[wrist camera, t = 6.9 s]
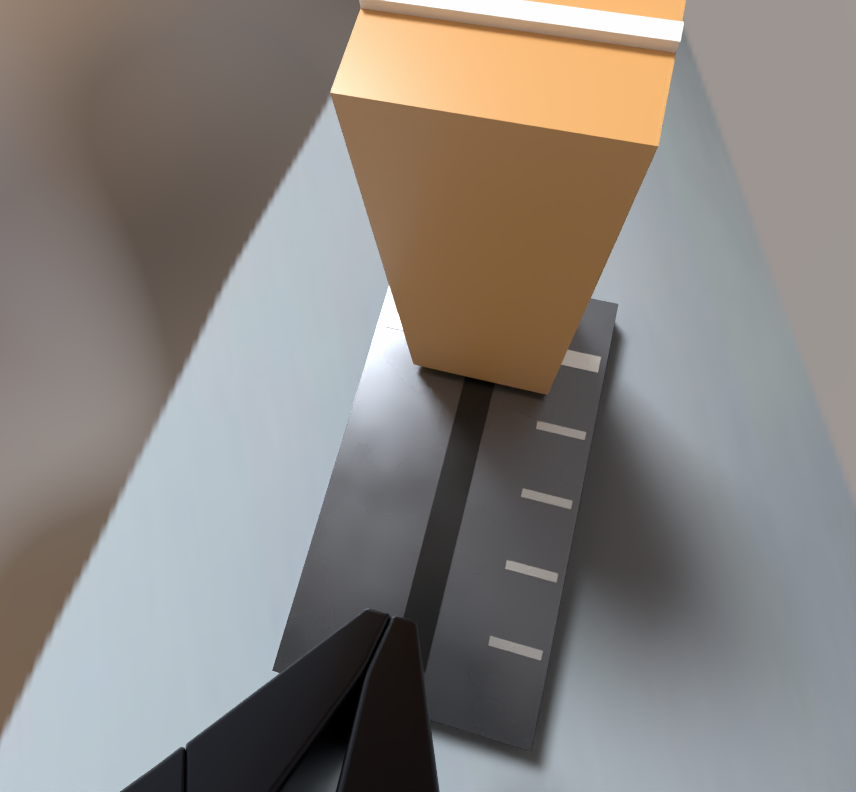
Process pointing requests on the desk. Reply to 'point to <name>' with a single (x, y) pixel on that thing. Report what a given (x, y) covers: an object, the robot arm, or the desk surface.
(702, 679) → the desk surface
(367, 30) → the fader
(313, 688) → the robot arm
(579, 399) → the plate
